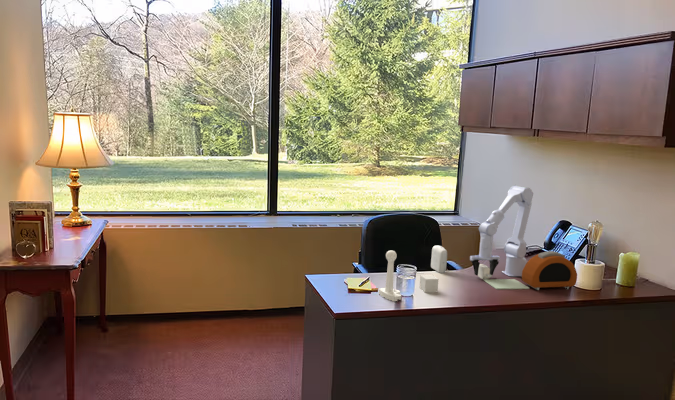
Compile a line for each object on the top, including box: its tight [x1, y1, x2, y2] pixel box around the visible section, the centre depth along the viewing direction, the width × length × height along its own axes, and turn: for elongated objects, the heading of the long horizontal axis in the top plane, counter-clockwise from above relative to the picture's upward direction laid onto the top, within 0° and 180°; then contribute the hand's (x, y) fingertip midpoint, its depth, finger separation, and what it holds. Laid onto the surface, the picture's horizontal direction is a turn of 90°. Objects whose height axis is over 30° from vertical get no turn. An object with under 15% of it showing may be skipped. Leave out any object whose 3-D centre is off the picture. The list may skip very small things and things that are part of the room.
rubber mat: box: [483, 278, 530, 290], centre depth 241 cm, size 16×13×1 cm
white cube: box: [419, 274, 439, 293], centre depth 228 cm, size 6×6×6 cm
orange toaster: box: [521, 250, 578, 291], centre depth 240 cm, size 23×9×17 cm, turn 103°
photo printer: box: [430, 245, 448, 274], centre depth 259 cm, size 10×4×12 cm, turn 17°
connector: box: [477, 263, 493, 281], centre depth 249 cm, size 3×11×6 cm, turn 10°
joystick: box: [378, 250, 402, 302], centre depth 216 cm, size 11×8×20 cm
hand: (483, 274), depth 251 cm, fingers open, 7 cm apart
